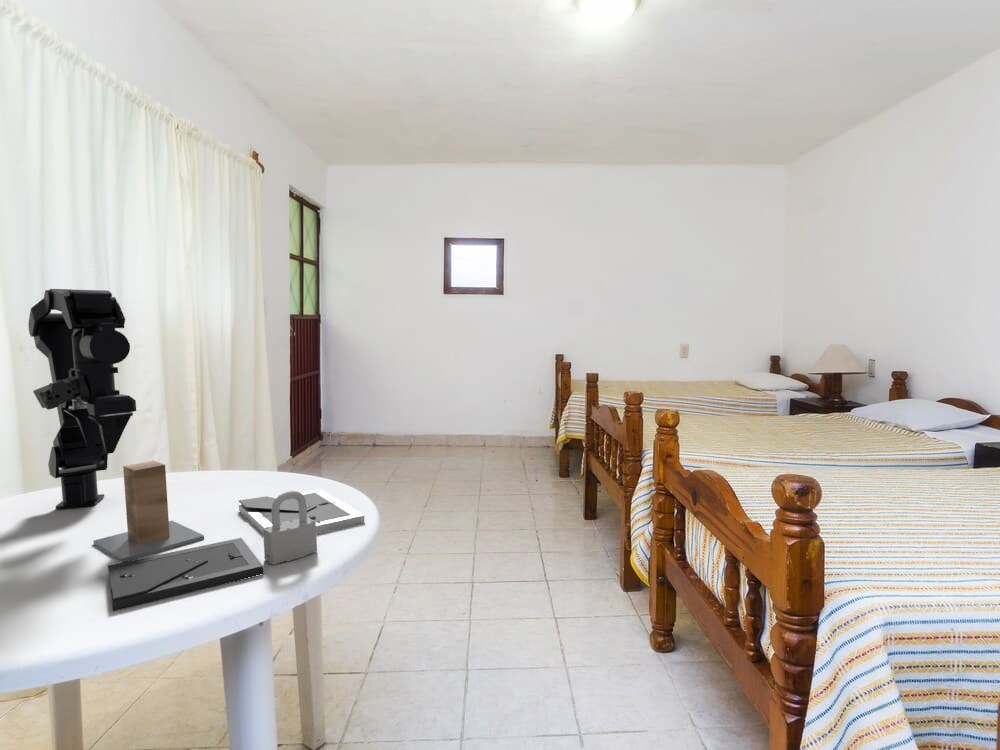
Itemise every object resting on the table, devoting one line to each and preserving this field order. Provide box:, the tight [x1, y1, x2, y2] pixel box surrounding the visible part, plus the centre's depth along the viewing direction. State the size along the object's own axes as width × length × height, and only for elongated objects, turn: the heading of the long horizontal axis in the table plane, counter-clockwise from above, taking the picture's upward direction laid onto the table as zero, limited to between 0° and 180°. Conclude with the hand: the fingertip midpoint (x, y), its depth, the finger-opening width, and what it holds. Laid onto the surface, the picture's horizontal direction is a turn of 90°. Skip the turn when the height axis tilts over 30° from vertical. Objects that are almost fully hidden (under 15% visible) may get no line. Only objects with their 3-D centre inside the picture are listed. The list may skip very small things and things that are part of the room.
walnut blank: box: [122, 460, 170, 545], centre depth 95 cm, size 4×4×12 cm
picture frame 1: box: [107, 537, 264, 612], centre depth 83 cm, size 13×2×18 cm
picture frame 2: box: [238, 489, 365, 535], centre depth 108 cm, size 16×3×21 cm
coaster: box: [92, 520, 205, 563], centre depth 96 cm, size 12×12×1 cm
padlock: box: [262, 490, 318, 565], centre depth 89 cm, size 7×4×10 cm, turn 134°
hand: (100, 449), depth 105 cm, fingers open, 9 cm apart
